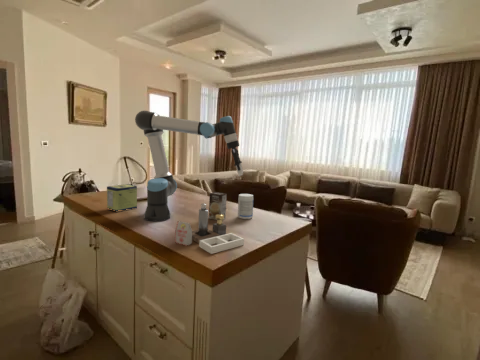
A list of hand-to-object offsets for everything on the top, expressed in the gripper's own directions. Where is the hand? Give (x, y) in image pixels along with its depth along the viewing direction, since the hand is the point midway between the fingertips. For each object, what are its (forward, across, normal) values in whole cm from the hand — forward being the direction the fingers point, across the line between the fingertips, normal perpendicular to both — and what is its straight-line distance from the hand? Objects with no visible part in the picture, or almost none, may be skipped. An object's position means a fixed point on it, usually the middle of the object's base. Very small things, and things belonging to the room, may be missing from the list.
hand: (241, 174), depth 168 cm
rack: (+25, -49, +14) cm, 57 cm away
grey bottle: (+22, -39, +24) cm, 51 cm away
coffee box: (+22, -6, +22) cm, 32 cm away
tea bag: (+20, -48, +32) cm, 61 cm away
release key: (+20, -33, +16) cm, 42 cm away
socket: (+22, -37, +22) cm, 49 cm away
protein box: (+2, +4, +83) cm, 83 cm away
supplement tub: (+28, +1, +5) cm, 28 cm away
